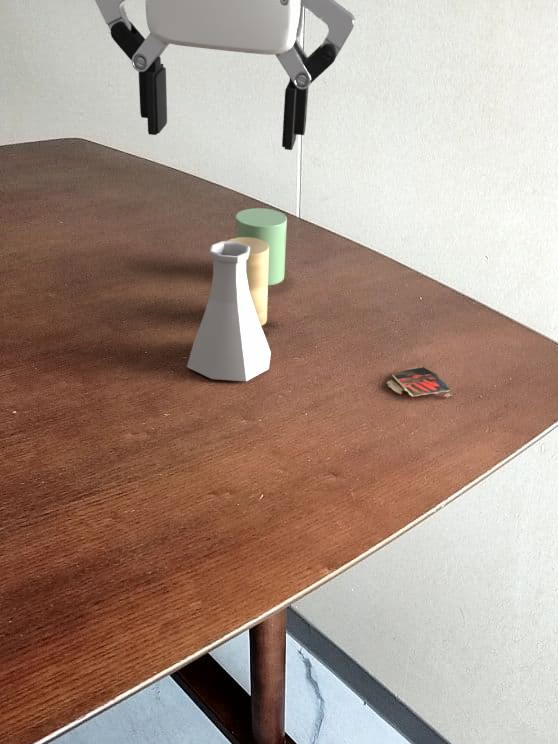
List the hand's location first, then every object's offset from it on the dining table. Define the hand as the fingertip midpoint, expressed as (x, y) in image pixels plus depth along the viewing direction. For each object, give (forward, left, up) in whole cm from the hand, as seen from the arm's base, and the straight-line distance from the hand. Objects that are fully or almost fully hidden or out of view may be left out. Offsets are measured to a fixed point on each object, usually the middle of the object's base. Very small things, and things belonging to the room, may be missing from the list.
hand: (223, 136), depth 63 cm
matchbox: (+17, -1, -18) cm, 25 cm away
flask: (+1, 0, -18) cm, 18 cm away
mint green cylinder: (+1, +18, -18) cm, 26 cm away
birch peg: (+1, +8, -18) cm, 20 cm away
